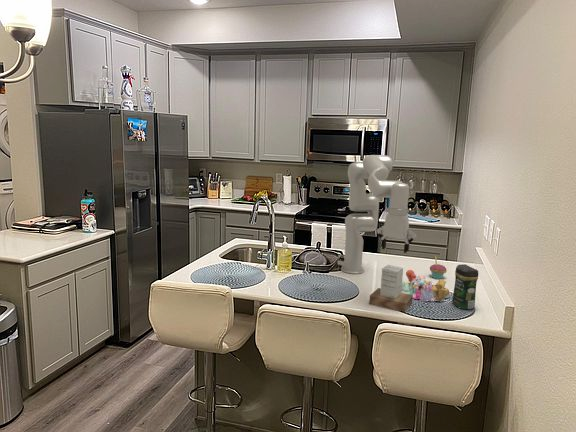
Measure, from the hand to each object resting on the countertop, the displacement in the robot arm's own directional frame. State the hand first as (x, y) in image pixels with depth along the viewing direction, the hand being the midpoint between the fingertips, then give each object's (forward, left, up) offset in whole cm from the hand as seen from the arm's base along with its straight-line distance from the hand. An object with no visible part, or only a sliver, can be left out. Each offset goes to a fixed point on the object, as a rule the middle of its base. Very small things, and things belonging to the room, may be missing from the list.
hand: (394, 250), depth 193 cm
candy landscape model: (+9, +22, -25) cm, 34 cm away
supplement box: (0, -1, -21) cm, 21 cm away
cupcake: (+11, +51, -25) cm, 58 cm away
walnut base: (+1, -1, -24) cm, 24 cm away
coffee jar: (+29, +15, -25) cm, 40 cm away
